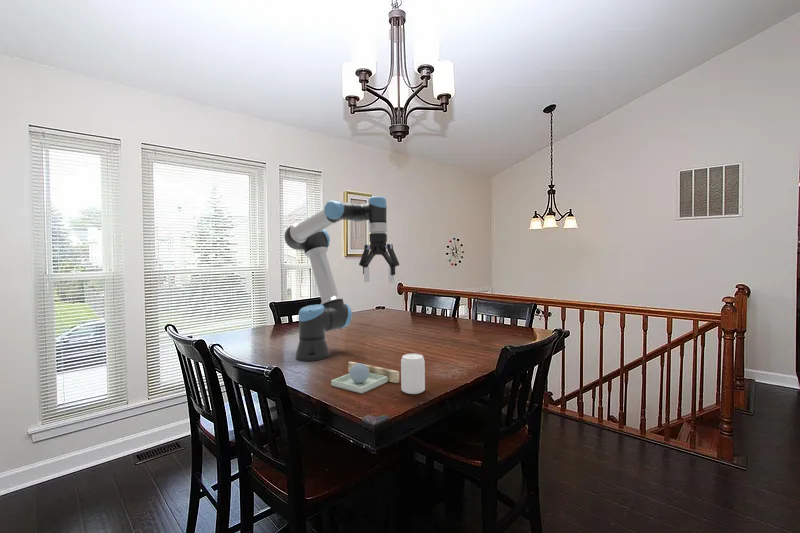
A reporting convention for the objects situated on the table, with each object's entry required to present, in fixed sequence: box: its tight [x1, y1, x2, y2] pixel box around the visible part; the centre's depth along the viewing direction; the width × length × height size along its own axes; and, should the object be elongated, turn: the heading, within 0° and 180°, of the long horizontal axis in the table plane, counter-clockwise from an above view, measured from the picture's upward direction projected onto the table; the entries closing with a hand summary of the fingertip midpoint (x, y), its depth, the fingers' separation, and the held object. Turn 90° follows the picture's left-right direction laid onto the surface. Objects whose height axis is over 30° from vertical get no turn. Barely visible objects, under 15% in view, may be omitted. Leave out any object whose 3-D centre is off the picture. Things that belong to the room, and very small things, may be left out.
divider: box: [347, 360, 400, 384], centre depth 148 cm, size 24×2×4 cm, turn 55°
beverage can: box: [400, 353, 426, 395], centre depth 133 cm, size 8×8×12 cm
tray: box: [330, 372, 389, 395], centre depth 141 cm, size 14×14×2 cm
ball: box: [350, 362, 369, 383], centre depth 141 cm, size 7×7×7 cm
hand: (378, 282), depth 167 cm, fingers open, 13 cm apart
